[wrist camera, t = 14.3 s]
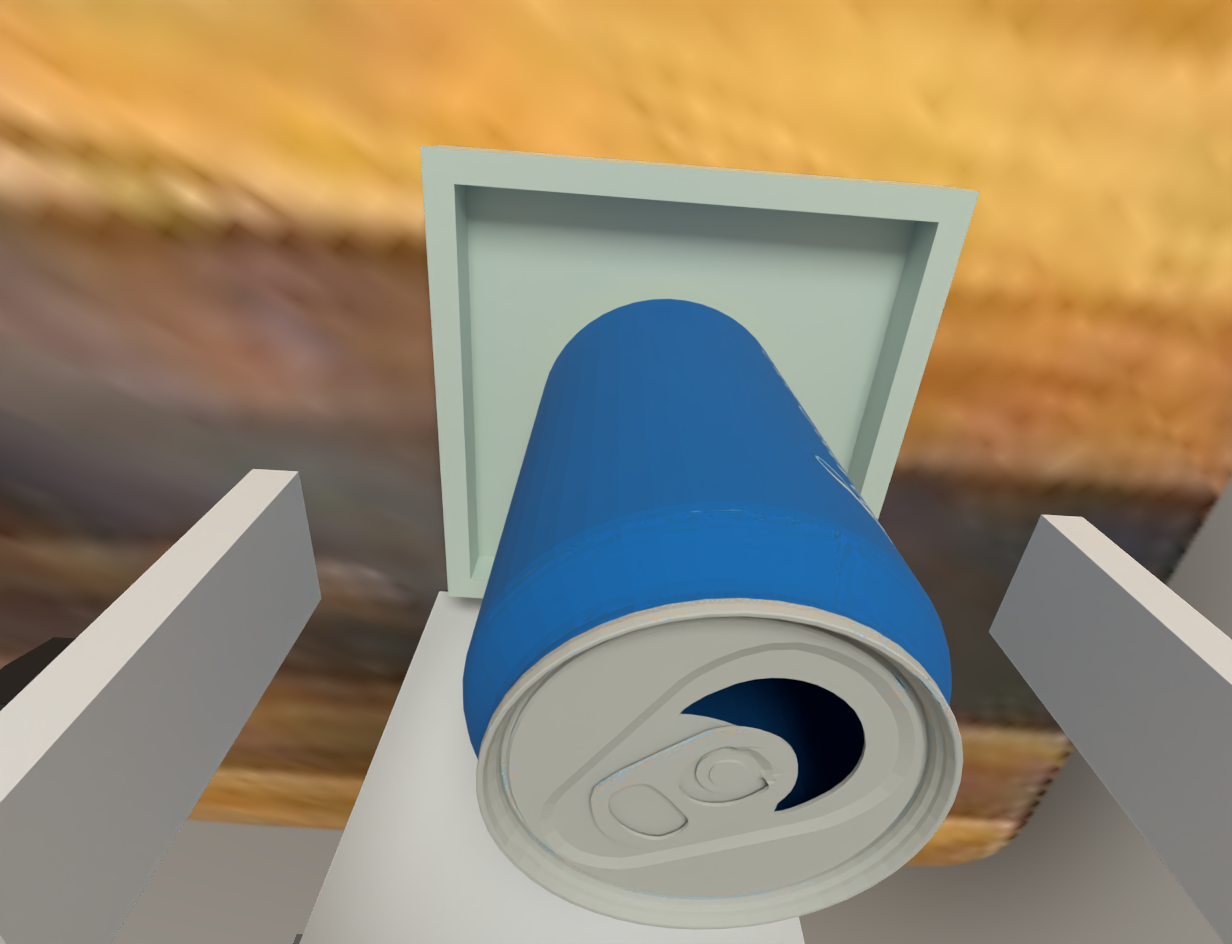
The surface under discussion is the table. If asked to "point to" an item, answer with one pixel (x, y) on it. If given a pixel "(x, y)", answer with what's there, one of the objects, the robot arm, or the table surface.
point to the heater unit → (454, 836)
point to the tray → (671, 269)
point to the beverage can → (700, 645)
